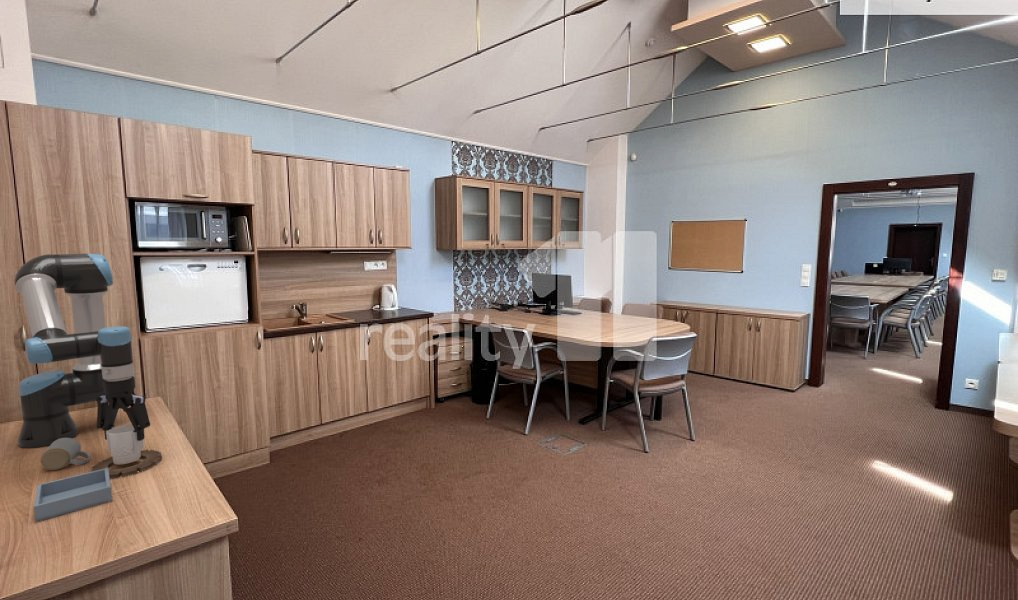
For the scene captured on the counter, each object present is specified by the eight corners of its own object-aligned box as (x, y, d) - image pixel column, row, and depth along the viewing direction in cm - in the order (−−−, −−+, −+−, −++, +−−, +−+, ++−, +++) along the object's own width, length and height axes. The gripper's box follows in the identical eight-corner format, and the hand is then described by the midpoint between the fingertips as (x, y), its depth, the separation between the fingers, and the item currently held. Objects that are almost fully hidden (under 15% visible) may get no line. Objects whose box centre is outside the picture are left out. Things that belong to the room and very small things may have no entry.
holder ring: (90, 464, 149) (90, 460, 149) (158, 448, 160) (157, 445, 160) (92, 485, 136) (91, 481, 136) (164, 466, 148) (164, 462, 148)
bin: (39, 498, 129) (37, 484, 129) (109, 480, 139) (108, 467, 138) (35, 522, 118) (33, 506, 118) (112, 500, 128) (110, 486, 127)
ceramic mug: (39, 473, 143) (37, 449, 142) (51, 462, 150) (48, 439, 150) (85, 467, 148) (83, 443, 147) (94, 456, 155) (92, 433, 154)
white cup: (104, 463, 146) (100, 432, 144) (131, 452, 153) (128, 422, 152) (122, 467, 143) (119, 435, 142) (149, 456, 151) (146, 425, 150)
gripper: (74, 381, 142) (83, 454, 145) (141, 382, 141) (148, 456, 144) (97, 374, 149) (105, 444, 152) (161, 375, 148) (167, 445, 151)
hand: (126, 449), depth 148 cm, fingers closed on white cup, 8 cm apart
